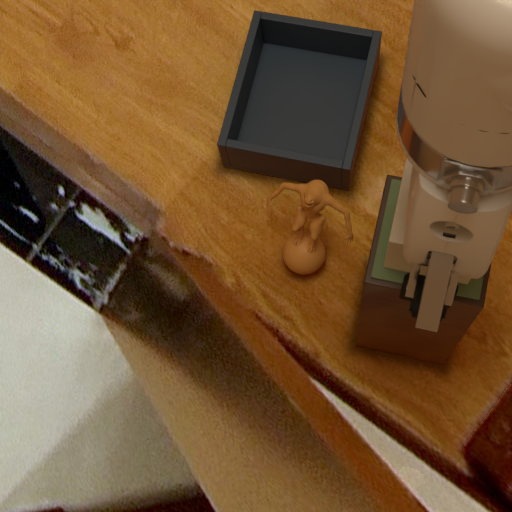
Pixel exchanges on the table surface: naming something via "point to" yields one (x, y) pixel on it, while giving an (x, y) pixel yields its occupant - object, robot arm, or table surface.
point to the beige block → (398, 227)
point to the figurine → (305, 243)
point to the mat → (396, 276)
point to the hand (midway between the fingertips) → (438, 229)
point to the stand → (409, 313)
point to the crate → (300, 99)
